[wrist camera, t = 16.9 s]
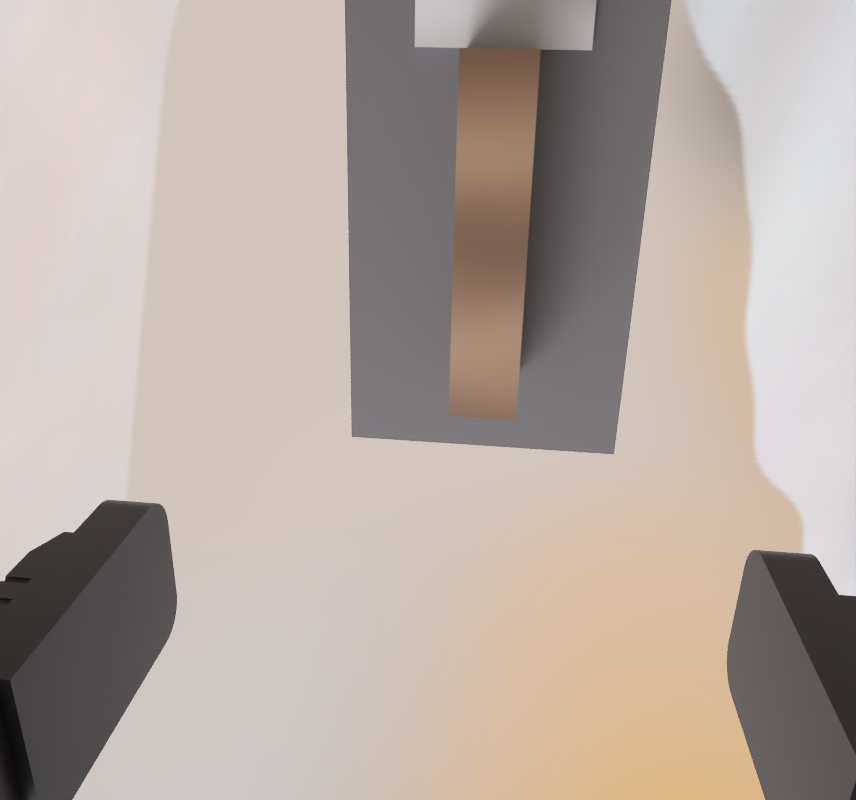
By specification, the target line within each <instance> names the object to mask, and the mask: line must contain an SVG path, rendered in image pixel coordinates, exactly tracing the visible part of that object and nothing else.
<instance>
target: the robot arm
mask: <svg viewBox="0 0 856 800" xmlns="http://www.w3.org/2000/svg"><path fill="white" fill-rule="evenodd" d="M176 606H177V593H176V585H175V577H174V568H173V561H172V552H171V544H170V536H169V527H168V520H167V515H166V512H165V510H164V508H163V507H162V506H161V505H160V504H155V503H141V502H129V501H116V500H106V501H104V502H102V503H101V504H100V505H99V506H98V507H97V508H96V509H95V510H94V512H93V513H92V514H91V515H90V516H89V517H88V518H87V519H86V520H85V521H84V522H83V523H82V525H81V526H80V527H79V528H78V529H77V530H76V531H75V532H74V533H70V532H63V533H62V534H60V535H58V536H56V537H55V538H53V539H51V540H49V541H48V542H46V543H44V544H42V545H41V546H39V547H37V548H35V549H34V550H32V551H30V552H29V553H28V554H27V555H26V556H25V557H24V558H23V559H22V560H21V561H20V562H19V563H18V564H17V565H16V566H15V567H14V568H13V569H12V570H11V571H10V572H9V573H8V574H7V575H6V579H5V581H1V582H0V800H72V799H73V798H74V796H75V794H76V792H77V791H78V789H79V787H80V786H81V784H82V782H83V781H84V779H85V777H86V776H87V774H88V772H89V771H90V769H91V767H92V766H93V764H94V762H95V761H96V759H97V757H98V756H99V754H100V752H101V750H102V749H103V747H104V746H105V744H106V742H107V741H108V739H109V737H110V735H111V734H112V732H113V731H114V729H115V727H116V726H117V724H118V722H119V721H120V719H121V717H122V716H123V714H124V712H125V711H126V709H127V707H128V705H129V704H130V702H131V700H132V699H133V697H134V695H135V694H136V692H137V690H138V689H139V687H140V685H141V684H142V682H143V680H144V679H145V677H146V675H147V673H148V672H149V670H150V669H151V667H152V665H153V664H154V662H155V660H156V659H157V657H158V655H159V654H160V652H161V650H162V649H163V647H164V645H165V644H166V642H167V640H168V638H169V636H170V633H171V631H172V628H173V624H174V620H175V615H176ZM727 653H728V654H727V672H728V681H729V687H730V691H731V695H732V698H733V701H734V704H735V707H736V710H737V713H738V717H739V719H740V722H741V725H742V728H743V731H744V735H745V738H746V741H747V744H748V747H749V750H750V753H751V756H752V759H753V763H754V766H755V769H756V772H757V775H758V778H759V781H760V784H761V787H762V790H763V793H764V796H765V799H766V800H856V596H845V595H838V593H837V591H836V590H835V588H834V586H833V585H832V583H831V581H830V579H829V578H828V576H827V574H826V572H825V571H824V569H823V567H822V566H821V564H820V562H819V561H818V559H817V558H816V557H815V556H814V555H812V554H800V553H786V552H773V551H760V550H753V551H752V552H751V553H750V554H749V556H748V558H747V560H746V564H745V567H744V572H743V577H742V582H741V586H740V592H739V596H738V601H737V606H736V610H735V616H734V620H733V625H732V629H731V634H730V639H729V644H728V652H727Z"/></svg>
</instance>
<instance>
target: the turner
mask: <svg viewBox="0 0 856 800" xmlns="http://www.w3.org/2000/svg"><path fill="white" fill-rule="evenodd" d="M596 1H597V0H415V47H435V48H459V76H458V110H457V144H456V177H455V211H454V245H453V279H452V313H451V347H450V380H449V414H448V416H457V417H474V418H492V419H509V420H516V418H517V402H518V387H519V372H520V357H521V342H522V327H523V311H524V296H525V281H526V266H527V251H528V235H529V220H530V205H531V190H532V175H533V160H534V144H535V129H536V114H537V99H538V84H539V68H540V53H541V49H544V50H592V46H593V35H594V23H595V12H596Z"/></svg>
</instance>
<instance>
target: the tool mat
mask: <svg viewBox="0 0 856 800" xmlns="http://www.w3.org/2000/svg"><path fill="white" fill-rule="evenodd" d="M670 6H671V0H597V1H596V12H595V23H594V35H593V46H592V50H544V49H541V53H540V68H539V84H538V99H537V114H536V129H535V144H534V160H533V175H532V190H531V205H530V220H529V235H528V251H527V266H526V281H525V296H524V311H523V327H522V342H521V357H520V372H519V387H518V402H517V418H516V420H509V419H492V418H474V417H457V416H448V414H449V380H450V347H451V313H452V279H453V245H454V211H455V177H456V144H457V110H458V76H459V48H435V47H415V0H345V25H346V26H345V30H346V86H347V87H346V93H347V154H348V155H347V157H348V218H349V280H350V282H349V284H350V340H351V341H350V343H351V345H350V346H351V407H352V408H351V409H352V437H365V438H381V439H395V440H410V441H425V442H440V443H455V444H471V445H485V446H500V447H515V448H530V449H545V450H560V451H575V452H590V453H606V454H614V447H615V440H616V432H617V424H618V416H619V408H620V401H621V392H622V385H623V376H624V369H625V361H626V353H627V345H628V338H629V330H630V322H631V314H632V306H633V297H634V290H635V282H636V274H637V266H638V258H639V250H640V243H641V235H642V226H643V218H644V211H645V203H646V195H647V188H648V179H649V172H650V163H651V156H652V148H653V140H654V132H655V124H656V117H657V109H658V101H659V93H660V85H661V77H662V68H663V60H664V53H665V46H666V37H667V29H668V22H669V14H670Z"/></svg>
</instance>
